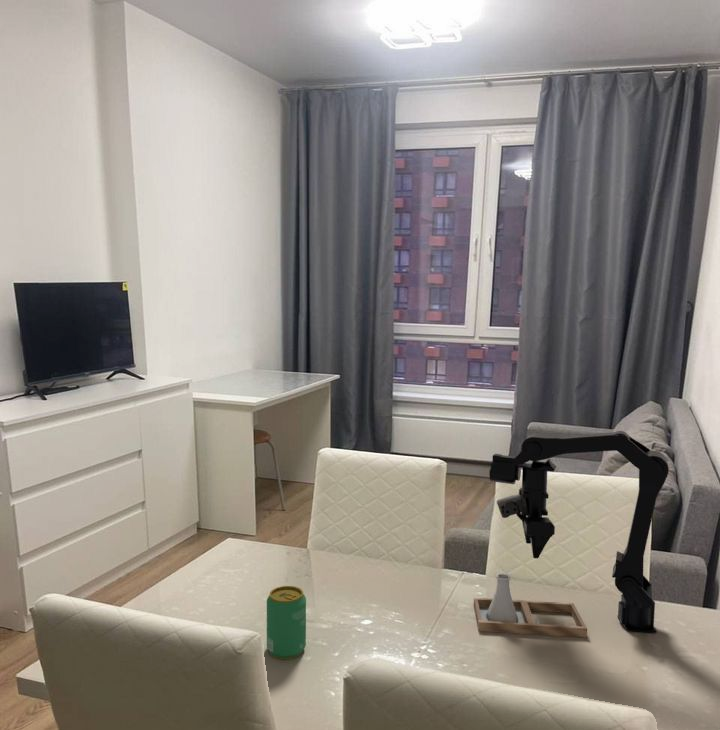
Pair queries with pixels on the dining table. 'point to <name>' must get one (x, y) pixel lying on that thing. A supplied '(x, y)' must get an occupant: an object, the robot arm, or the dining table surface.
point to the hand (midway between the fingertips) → (531, 550)
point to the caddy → (530, 619)
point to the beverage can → (286, 622)
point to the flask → (502, 602)
